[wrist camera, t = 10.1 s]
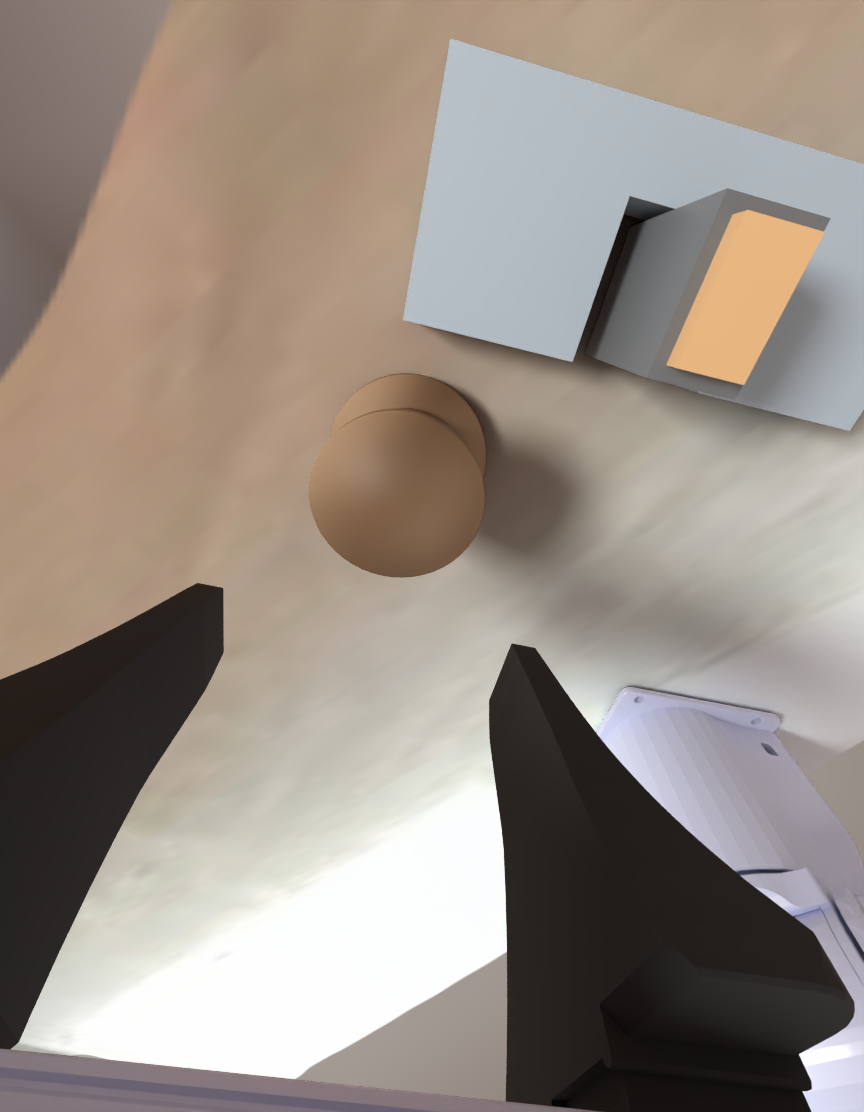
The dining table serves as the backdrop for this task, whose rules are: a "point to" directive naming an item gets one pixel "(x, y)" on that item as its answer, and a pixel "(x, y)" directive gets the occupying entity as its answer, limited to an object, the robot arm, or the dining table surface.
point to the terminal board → (619, 220)
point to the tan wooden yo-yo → (401, 477)
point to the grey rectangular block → (704, 290)
